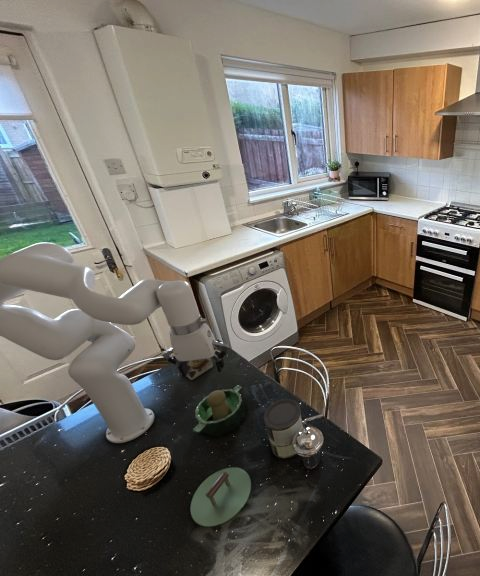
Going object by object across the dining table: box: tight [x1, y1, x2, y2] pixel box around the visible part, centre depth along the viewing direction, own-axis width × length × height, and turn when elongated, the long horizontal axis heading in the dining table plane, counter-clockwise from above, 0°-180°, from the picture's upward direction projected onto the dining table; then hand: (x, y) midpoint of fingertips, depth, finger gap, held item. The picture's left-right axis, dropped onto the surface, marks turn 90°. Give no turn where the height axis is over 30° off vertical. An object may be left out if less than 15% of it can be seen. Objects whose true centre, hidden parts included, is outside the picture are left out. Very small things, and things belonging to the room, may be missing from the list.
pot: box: [192, 384, 246, 436], centre depth 103 cm, size 14×19×6 cm
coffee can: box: [263, 398, 304, 459], centre depth 93 cm, size 10×10×14 cm
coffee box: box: [185, 358, 214, 381], centre depth 120 cm, size 9×6×16 cm
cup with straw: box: [292, 413, 325, 469], centre depth 87 cm, size 8×9×20 cm
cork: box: [207, 389, 232, 421], centre depth 102 cm, size 6×6×11 cm
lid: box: [189, 467, 252, 528], centre depth 81 cm, size 15×15×6 cm
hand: (203, 371), depth 93 cm, fingers open, 9 cm apart
